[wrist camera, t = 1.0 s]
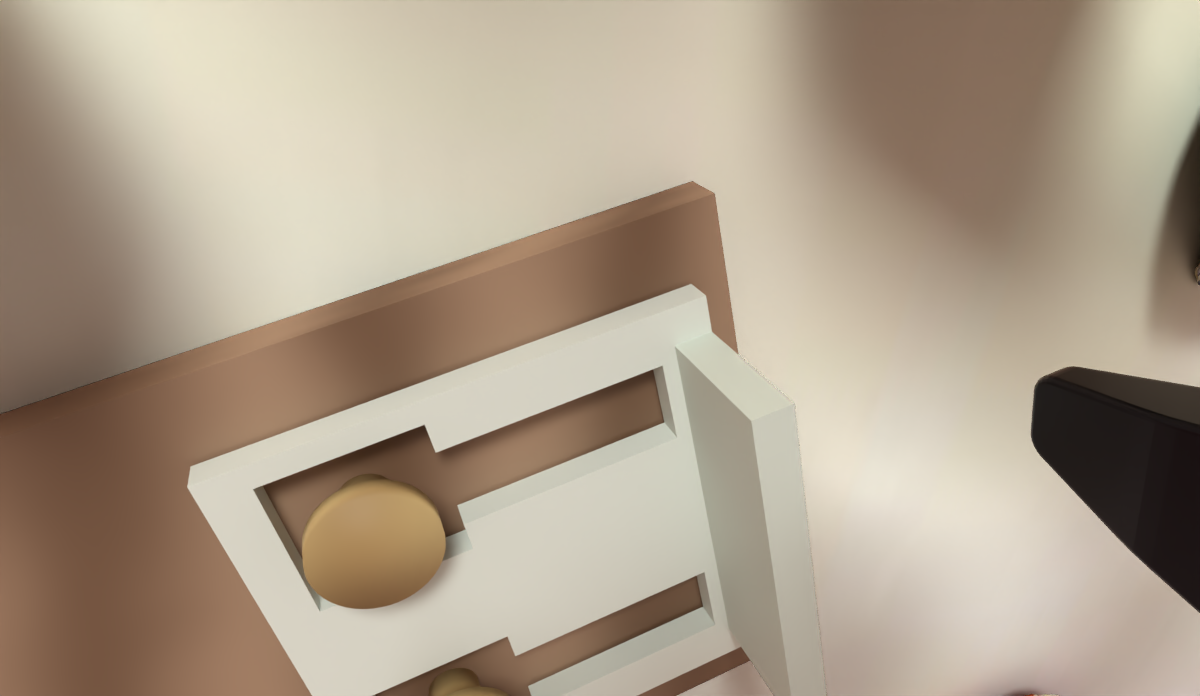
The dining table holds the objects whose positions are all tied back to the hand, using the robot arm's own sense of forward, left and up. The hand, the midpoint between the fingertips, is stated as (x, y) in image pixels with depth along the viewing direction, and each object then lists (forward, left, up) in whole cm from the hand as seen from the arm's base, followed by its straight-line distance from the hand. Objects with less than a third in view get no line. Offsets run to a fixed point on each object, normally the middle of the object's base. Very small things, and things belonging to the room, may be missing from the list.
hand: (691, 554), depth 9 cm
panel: (+1, +9, -11) cm, 14 cm away
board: (+4, +9, -12) cm, 15 cm away
